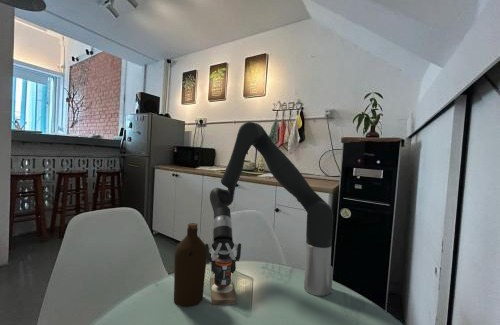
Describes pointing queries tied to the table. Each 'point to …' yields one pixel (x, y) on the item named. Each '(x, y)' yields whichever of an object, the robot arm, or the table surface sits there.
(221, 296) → the board
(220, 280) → the supplement bottle
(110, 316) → the table surface
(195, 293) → the olive oil
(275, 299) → the table surface
